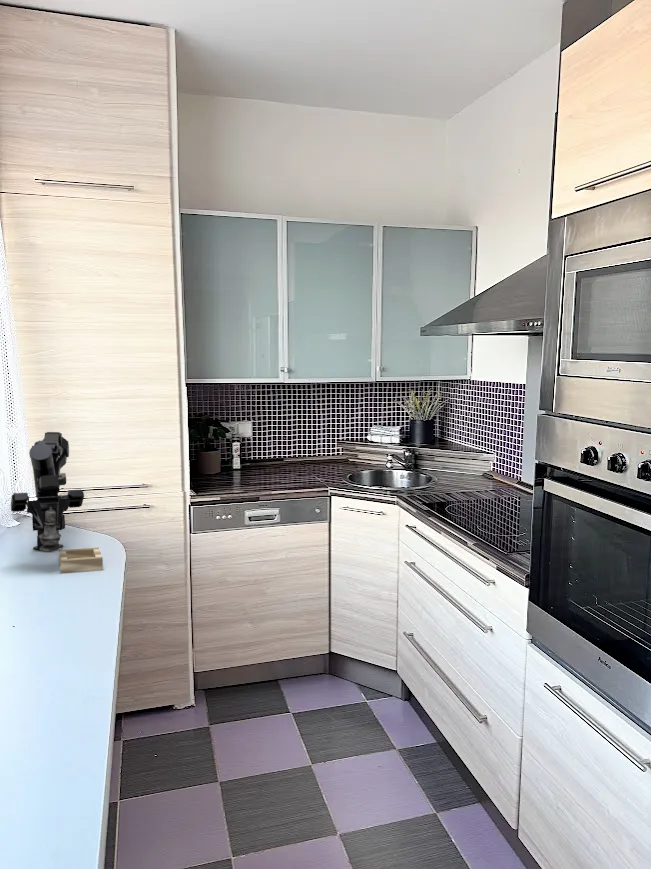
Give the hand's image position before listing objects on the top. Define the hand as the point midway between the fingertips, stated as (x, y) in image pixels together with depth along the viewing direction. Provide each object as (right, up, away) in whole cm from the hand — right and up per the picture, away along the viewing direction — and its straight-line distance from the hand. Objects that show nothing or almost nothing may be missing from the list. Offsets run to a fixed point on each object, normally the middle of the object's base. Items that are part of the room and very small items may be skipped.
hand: (51, 526), depth 182 cm
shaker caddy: (+5, -13, +8) cm, 16 cm away
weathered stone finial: (-1, -7, +2) cm, 7 cm away
